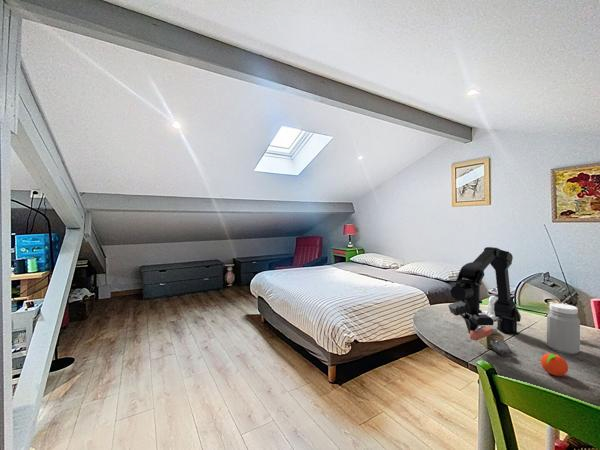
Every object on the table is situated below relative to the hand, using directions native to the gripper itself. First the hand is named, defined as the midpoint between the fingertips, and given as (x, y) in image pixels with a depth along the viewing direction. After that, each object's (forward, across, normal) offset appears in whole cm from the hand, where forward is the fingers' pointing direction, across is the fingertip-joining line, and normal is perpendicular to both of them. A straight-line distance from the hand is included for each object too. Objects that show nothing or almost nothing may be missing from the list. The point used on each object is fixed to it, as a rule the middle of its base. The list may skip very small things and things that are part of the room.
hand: (470, 333), depth 112 cm
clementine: (+6, +18, +17) cm, 26 cm away
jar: (+6, +1, +37) cm, 38 cm away
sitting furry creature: (+6, -36, +33) cm, 49 cm away
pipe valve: (+6, -3, +10) cm, 13 cm away
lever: (+1, 0, +5) cm, 5 cm away
